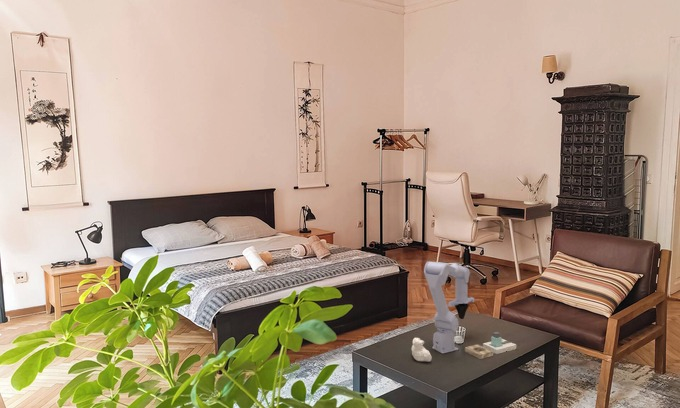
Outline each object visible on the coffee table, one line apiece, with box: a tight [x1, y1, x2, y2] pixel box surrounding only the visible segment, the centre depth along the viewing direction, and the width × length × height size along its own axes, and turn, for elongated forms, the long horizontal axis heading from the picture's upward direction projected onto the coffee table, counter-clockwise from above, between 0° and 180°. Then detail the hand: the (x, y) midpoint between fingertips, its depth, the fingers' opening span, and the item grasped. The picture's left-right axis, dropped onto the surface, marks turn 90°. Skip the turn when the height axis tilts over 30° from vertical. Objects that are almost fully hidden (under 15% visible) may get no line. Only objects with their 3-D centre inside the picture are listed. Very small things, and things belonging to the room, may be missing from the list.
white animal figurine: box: [410, 337, 432, 362], centre depth 232 cm, size 12×8×11 cm
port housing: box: [482, 338, 517, 355], centre depth 244 cm, size 12×9×2 cm
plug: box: [490, 331, 503, 348], centre depth 242 cm, size 3×3×8 cm
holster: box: [464, 343, 494, 360], centre depth 238 cm, size 8×10×2 cm
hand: (461, 318), depth 255 cm, fingers closed
